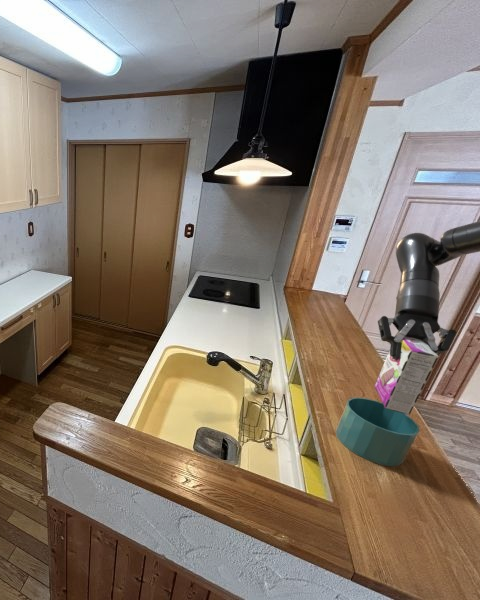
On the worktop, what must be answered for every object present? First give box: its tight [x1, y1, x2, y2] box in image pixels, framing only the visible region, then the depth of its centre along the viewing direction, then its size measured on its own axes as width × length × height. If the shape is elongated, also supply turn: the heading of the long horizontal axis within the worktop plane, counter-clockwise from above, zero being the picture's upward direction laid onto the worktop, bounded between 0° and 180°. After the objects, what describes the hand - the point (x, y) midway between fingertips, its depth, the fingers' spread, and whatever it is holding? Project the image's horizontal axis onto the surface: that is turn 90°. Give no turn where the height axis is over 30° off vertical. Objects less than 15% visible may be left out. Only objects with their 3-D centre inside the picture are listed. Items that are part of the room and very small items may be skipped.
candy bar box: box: [373, 336, 440, 416], centre depth 79 cm, size 11×5×16 cm, turn 150°
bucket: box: [335, 397, 421, 467], centre depth 86 cm, size 14×14×10 cm
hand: (411, 361), depth 77 cm, fingers closed on candy bar box, 5 cm apart
